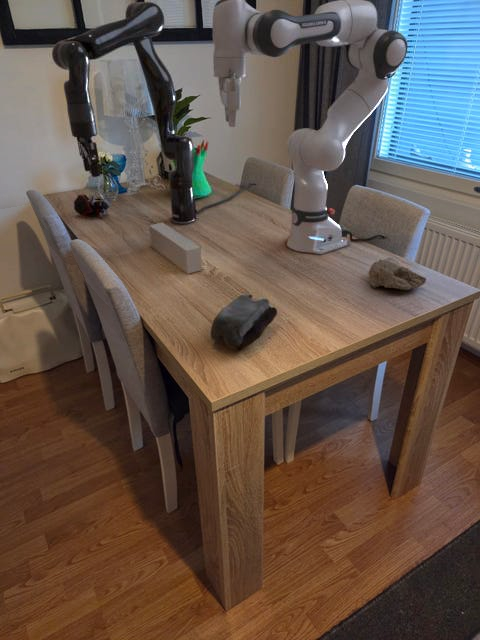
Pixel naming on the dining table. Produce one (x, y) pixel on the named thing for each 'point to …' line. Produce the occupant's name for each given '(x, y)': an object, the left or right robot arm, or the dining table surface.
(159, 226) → the bar
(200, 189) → the toy
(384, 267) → the artifact
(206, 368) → the dining table surface
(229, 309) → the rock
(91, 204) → the toy
